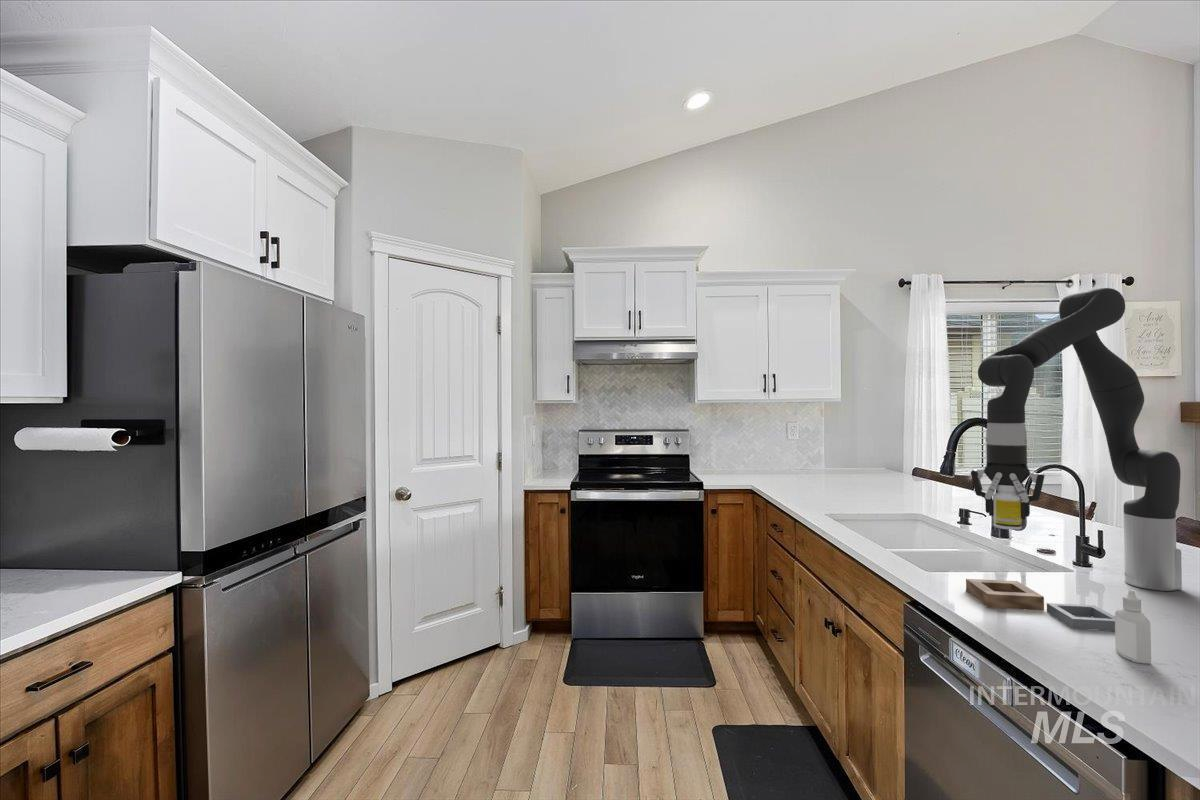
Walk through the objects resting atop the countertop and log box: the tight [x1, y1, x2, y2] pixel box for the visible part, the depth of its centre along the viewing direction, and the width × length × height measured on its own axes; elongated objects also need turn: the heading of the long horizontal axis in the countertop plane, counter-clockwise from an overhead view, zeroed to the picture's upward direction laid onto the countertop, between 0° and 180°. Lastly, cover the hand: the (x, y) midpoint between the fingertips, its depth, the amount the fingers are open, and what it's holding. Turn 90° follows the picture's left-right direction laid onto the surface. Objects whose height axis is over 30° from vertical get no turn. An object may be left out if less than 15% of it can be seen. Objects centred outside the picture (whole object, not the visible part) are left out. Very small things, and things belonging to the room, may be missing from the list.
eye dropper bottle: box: [1114, 589, 1152, 665], centre depth 101 cm, size 4×6×12 cm
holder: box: [1046, 602, 1115, 632], centre depth 117 cm, size 9×9×2 cm
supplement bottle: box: [992, 485, 1023, 531], centre depth 129 cm, size 5×5×10 cm
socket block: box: [965, 578, 1045, 612], centre depth 130 cm, size 11×11×3 cm
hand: (1007, 516), depth 129 cm, fingers closed on supplement bottle, 5 cm apart
